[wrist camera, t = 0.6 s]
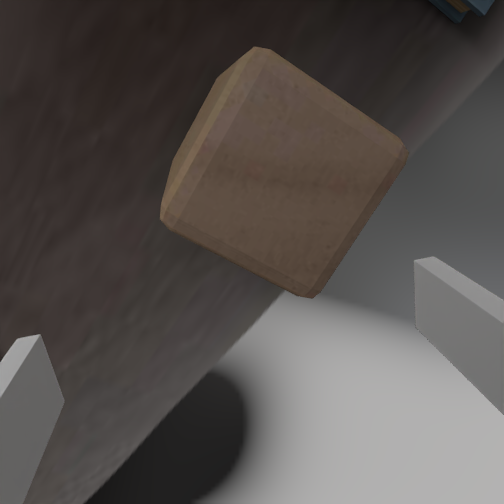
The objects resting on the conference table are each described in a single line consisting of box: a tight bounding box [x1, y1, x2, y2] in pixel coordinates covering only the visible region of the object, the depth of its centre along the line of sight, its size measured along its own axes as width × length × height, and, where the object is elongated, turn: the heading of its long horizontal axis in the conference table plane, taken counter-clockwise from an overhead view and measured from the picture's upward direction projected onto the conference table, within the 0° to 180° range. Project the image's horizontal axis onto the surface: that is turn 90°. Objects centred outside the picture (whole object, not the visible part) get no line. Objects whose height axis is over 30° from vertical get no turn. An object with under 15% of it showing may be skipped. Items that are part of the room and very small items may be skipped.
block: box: [160, 47, 409, 298], centre depth 31 cm, size 10×10×20 cm
